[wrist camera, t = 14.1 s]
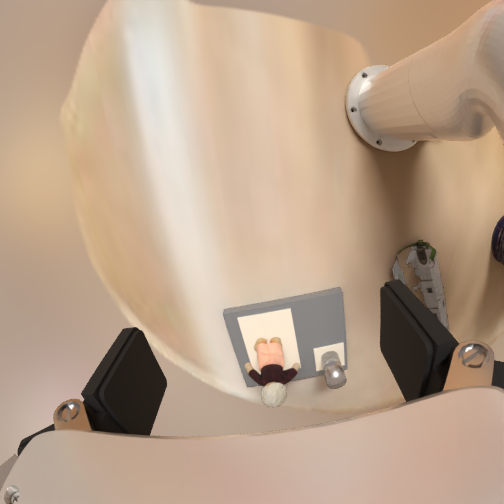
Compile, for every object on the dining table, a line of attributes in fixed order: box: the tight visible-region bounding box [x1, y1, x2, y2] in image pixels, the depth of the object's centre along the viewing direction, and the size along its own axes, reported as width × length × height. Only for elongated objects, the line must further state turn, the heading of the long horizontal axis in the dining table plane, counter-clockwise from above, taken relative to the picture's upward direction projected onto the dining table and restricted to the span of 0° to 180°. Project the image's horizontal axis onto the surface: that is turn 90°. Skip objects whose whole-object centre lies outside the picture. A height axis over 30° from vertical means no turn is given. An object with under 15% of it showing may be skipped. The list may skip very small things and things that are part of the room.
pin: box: [321, 351, 346, 389], centre depth 43 cm, size 3×3×6 cm
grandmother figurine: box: [244, 337, 300, 407], centre depth 39 cm, size 8×4×13 cm, turn 103°
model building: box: [392, 240, 449, 331], centre depth 42 cm, size 7×7×25 cm
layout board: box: [223, 287, 347, 387], centre depth 46 cm, size 18×16×2 cm
